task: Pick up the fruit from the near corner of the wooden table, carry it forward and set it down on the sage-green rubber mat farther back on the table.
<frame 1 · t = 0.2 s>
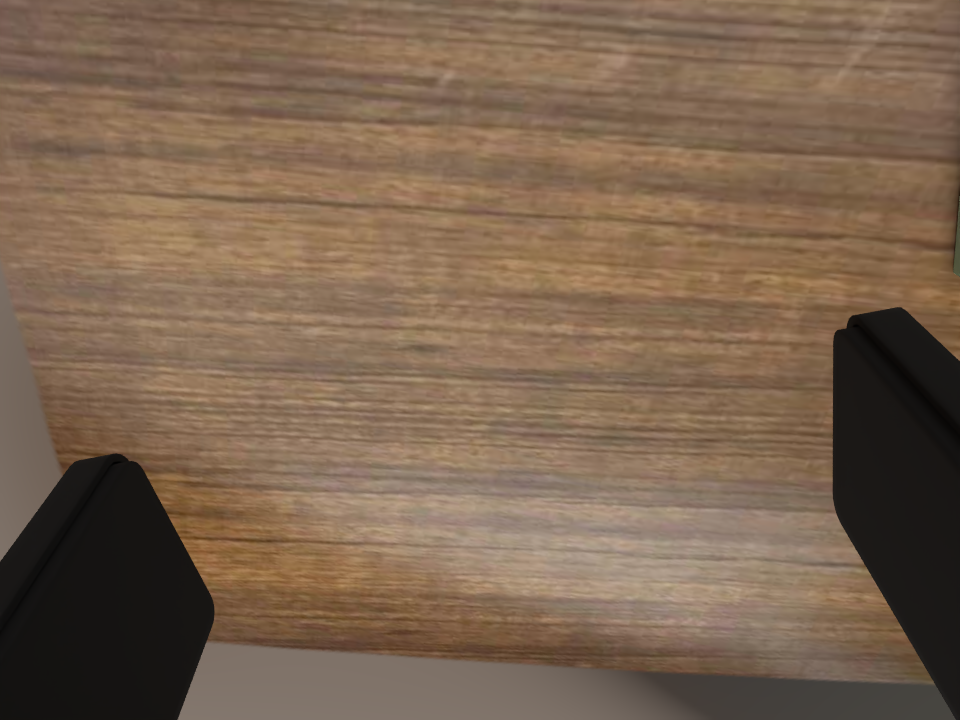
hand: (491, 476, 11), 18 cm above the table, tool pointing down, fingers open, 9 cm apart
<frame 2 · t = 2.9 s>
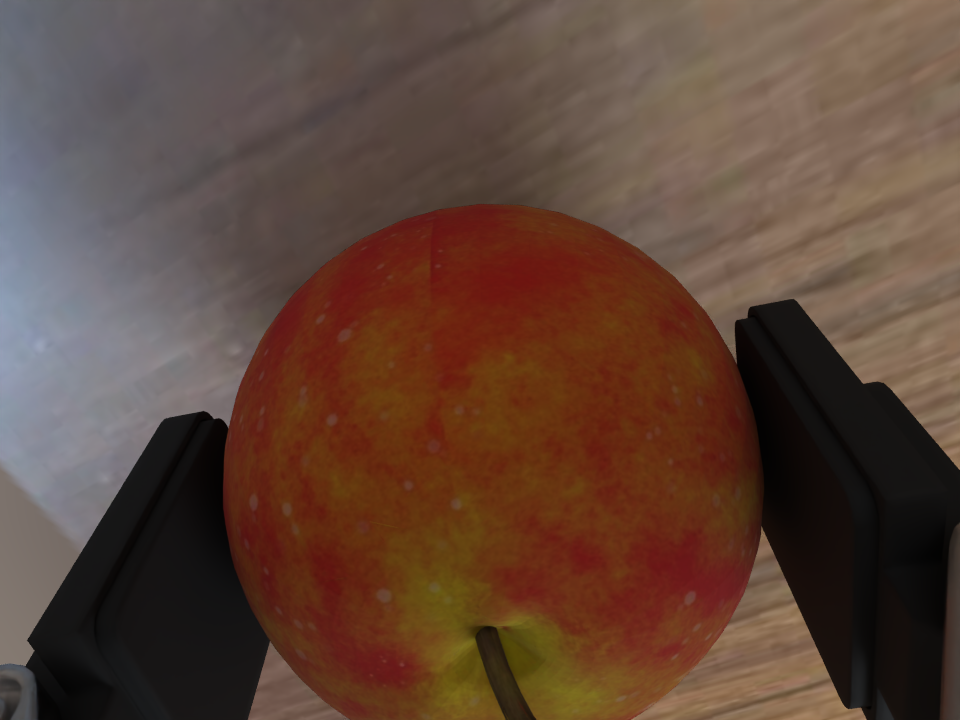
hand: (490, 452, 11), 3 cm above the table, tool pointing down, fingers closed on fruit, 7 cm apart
fruit: (488, 336, 14), on the table, touching gripper
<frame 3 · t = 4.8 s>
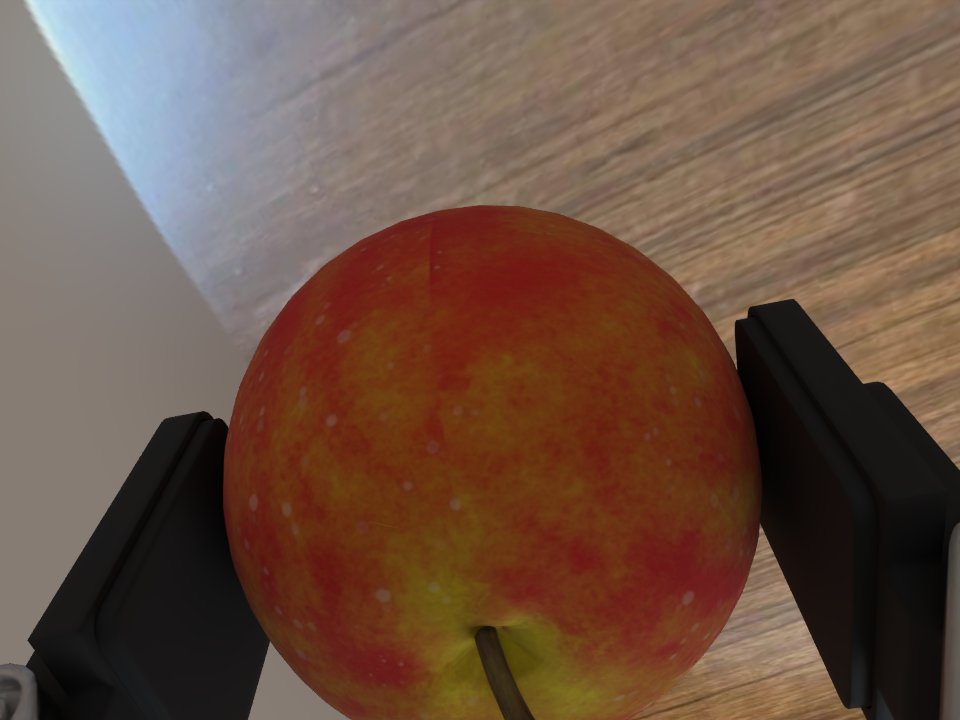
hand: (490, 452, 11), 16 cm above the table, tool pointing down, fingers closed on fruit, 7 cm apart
fruit: (487, 337, 14), point 13 cm above the table, touching gripper
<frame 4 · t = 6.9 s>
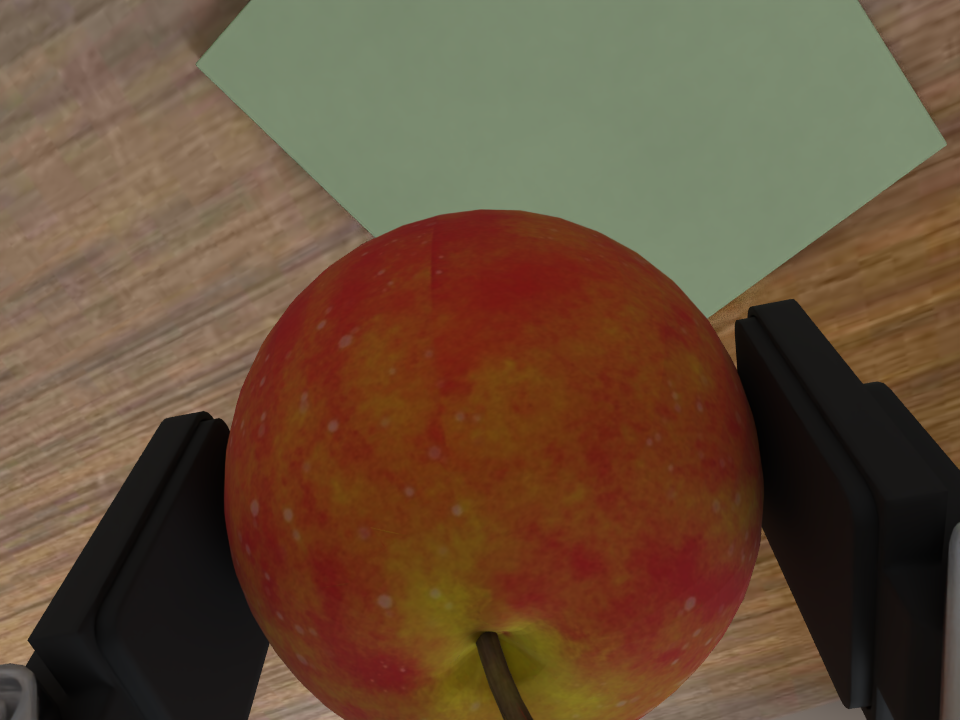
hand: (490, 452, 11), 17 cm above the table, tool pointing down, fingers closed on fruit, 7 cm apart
mat: (578, 101, 26), on the table
fruit: (488, 340, 14), point 14 cm above the table, touching gripper
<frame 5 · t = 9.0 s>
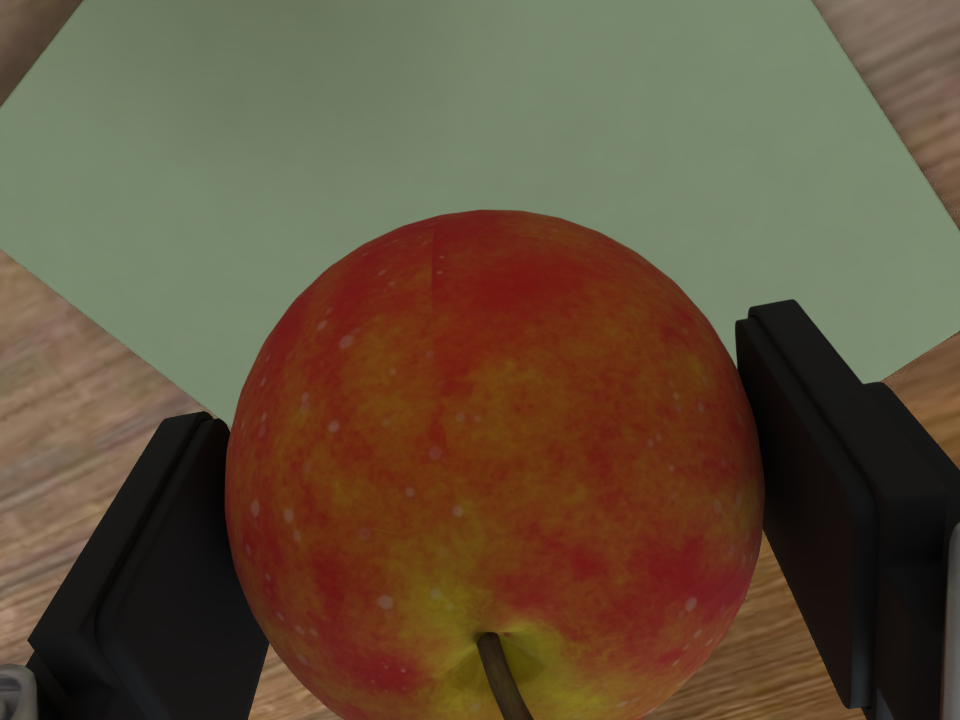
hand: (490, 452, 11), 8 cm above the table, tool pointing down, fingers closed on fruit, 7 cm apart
mat: (487, 241, 18), on the table
fruit: (489, 340, 14), point 5 cm above the table, touching gripper
when the fingers open (4 cm above the table, at t = 10.7 s): fruit stays where it is, resting on mat.
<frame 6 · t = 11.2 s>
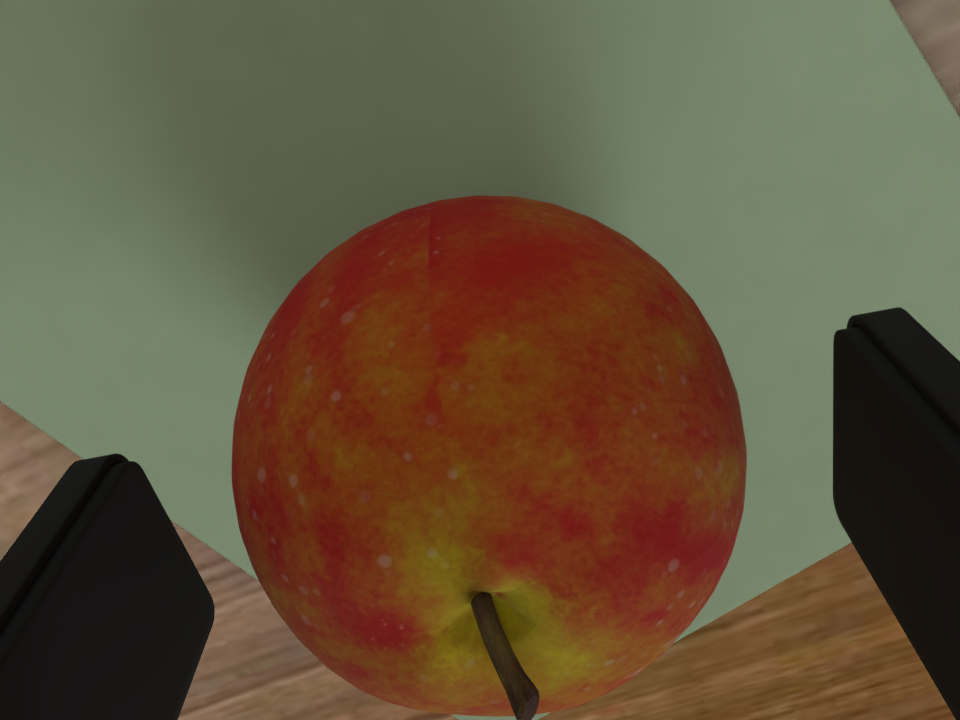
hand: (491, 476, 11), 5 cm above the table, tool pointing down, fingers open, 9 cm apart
mat: (491, 315, 15), on the table
fruit: (486, 326, 15), resting on mat
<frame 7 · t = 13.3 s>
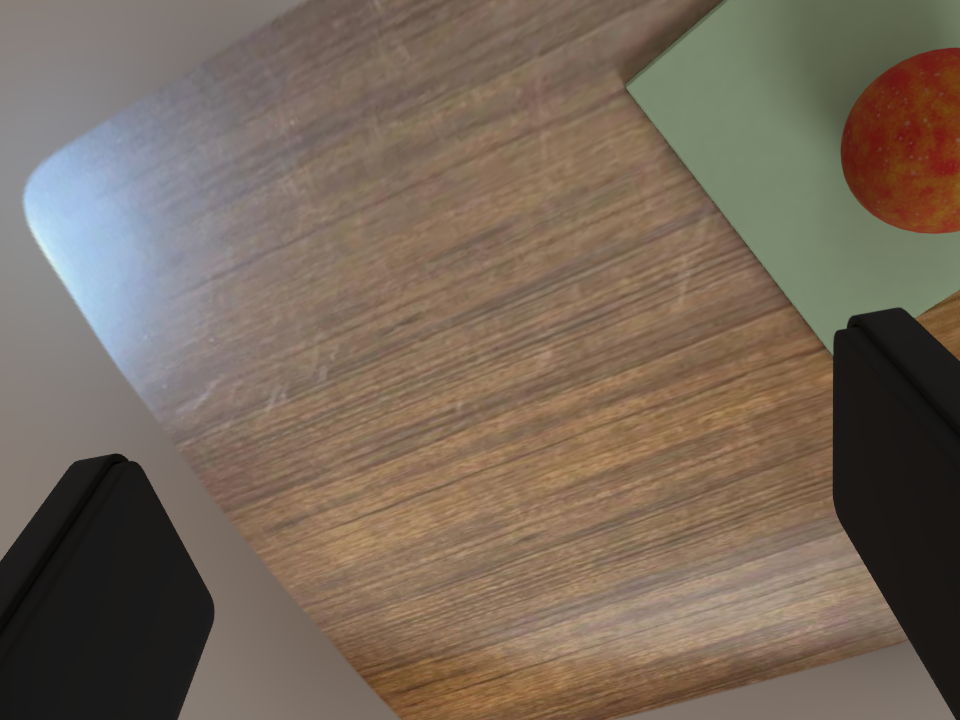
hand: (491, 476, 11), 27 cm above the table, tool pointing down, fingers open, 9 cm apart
mat: (895, 119, 35), on the table
fruit: (897, 121, 34), resting on mat
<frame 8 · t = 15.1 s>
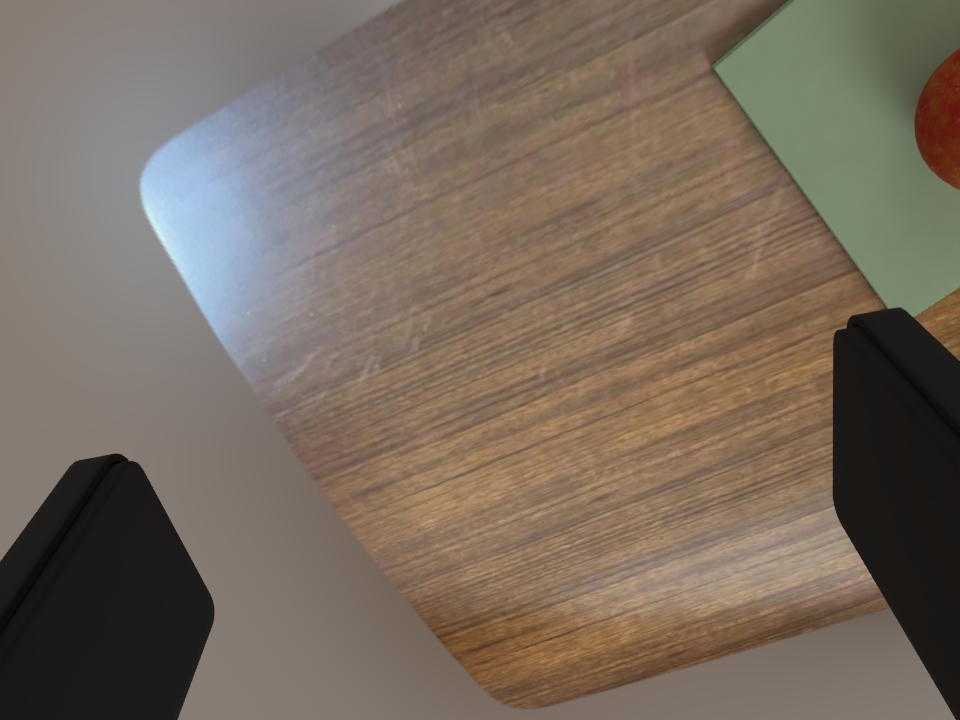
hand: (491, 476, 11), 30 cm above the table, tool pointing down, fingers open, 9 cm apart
mat: (959, 94, 37), on the table
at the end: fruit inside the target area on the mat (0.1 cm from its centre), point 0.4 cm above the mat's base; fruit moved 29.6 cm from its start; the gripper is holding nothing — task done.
